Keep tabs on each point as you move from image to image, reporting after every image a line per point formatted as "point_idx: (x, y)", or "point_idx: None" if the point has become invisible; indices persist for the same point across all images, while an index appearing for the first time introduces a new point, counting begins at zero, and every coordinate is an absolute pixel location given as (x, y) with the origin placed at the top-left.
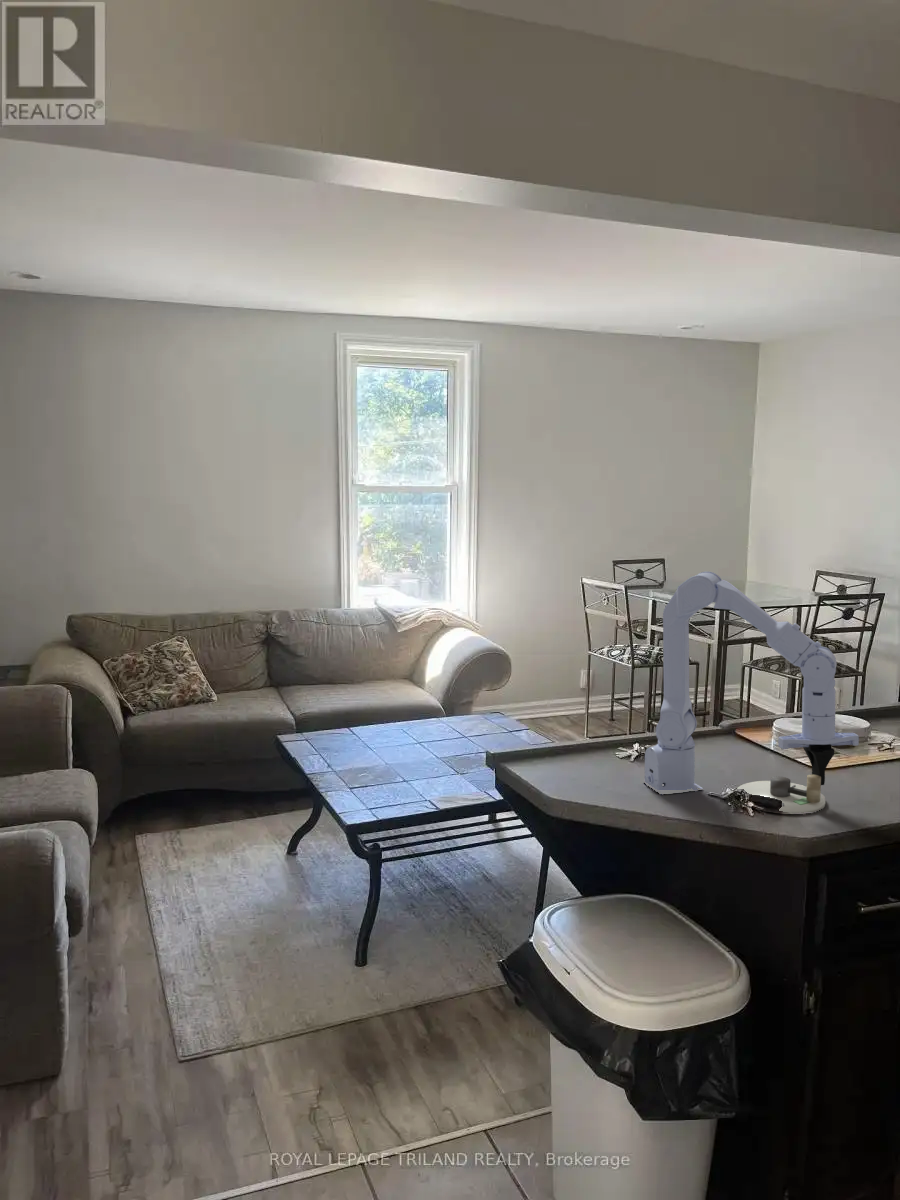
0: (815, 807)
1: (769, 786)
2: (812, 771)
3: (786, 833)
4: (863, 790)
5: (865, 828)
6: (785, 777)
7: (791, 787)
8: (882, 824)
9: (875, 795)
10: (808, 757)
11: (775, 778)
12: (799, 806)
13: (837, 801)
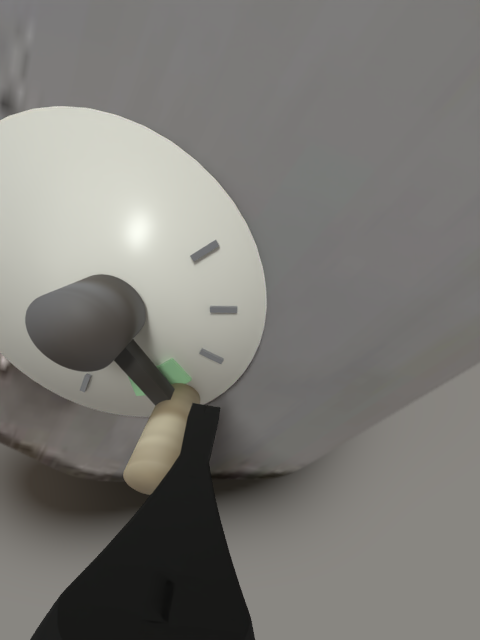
0: None
1: (105, 209)
2: (184, 438)
3: (61, 454)
4: (459, 303)
5: (229, 474)
6: (107, 320)
7: (128, 352)
8: (276, 471)
9: (441, 349)
10: (135, 516)
11: (52, 317)
12: (130, 400)
13: (293, 354)
